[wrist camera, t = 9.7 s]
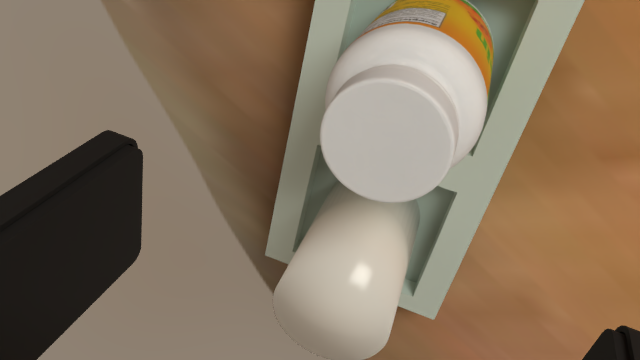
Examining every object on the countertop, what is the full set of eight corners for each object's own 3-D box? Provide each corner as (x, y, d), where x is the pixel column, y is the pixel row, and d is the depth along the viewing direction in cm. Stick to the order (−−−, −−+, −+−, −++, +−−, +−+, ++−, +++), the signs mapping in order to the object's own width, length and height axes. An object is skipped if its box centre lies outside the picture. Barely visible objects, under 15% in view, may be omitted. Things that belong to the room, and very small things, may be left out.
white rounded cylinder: (433, 189, 27) (406, 295, 20) (404, 263, 30) (372, 377, 23) (338, 157, 28) (283, 249, 21) (319, 232, 30) (264, 334, 24)
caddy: (348, -91, 23) (332, -87, 21) (584, -27, 22) (591, -16, 20) (279, 231, 33) (264, 255, 31) (439, 291, 31) (434, 319, 29)
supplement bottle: (494, 108, 24) (482, 229, 16) (375, 110, 26) (310, 220, 18) (495, -19, 22) (482, 47, 13) (364, -8, 23) (282, 58, 15)
